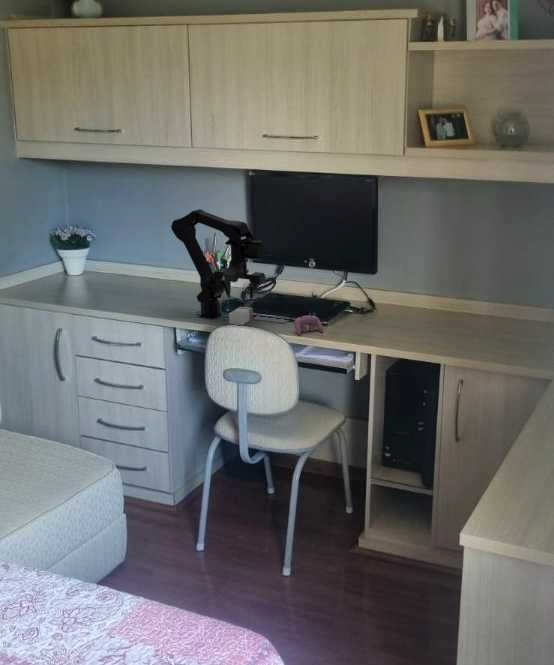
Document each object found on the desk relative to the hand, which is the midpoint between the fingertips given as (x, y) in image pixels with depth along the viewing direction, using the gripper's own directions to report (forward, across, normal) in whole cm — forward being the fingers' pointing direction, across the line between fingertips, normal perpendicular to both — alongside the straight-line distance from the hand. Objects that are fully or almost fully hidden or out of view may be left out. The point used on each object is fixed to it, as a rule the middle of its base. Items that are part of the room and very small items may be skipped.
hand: (240, 298), depth 324 cm
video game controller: (+9, +28, -3) cm, 30 cm away
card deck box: (+9, 0, 0) cm, 9 cm away
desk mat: (+8, +10, +8) cm, 16 cm away
